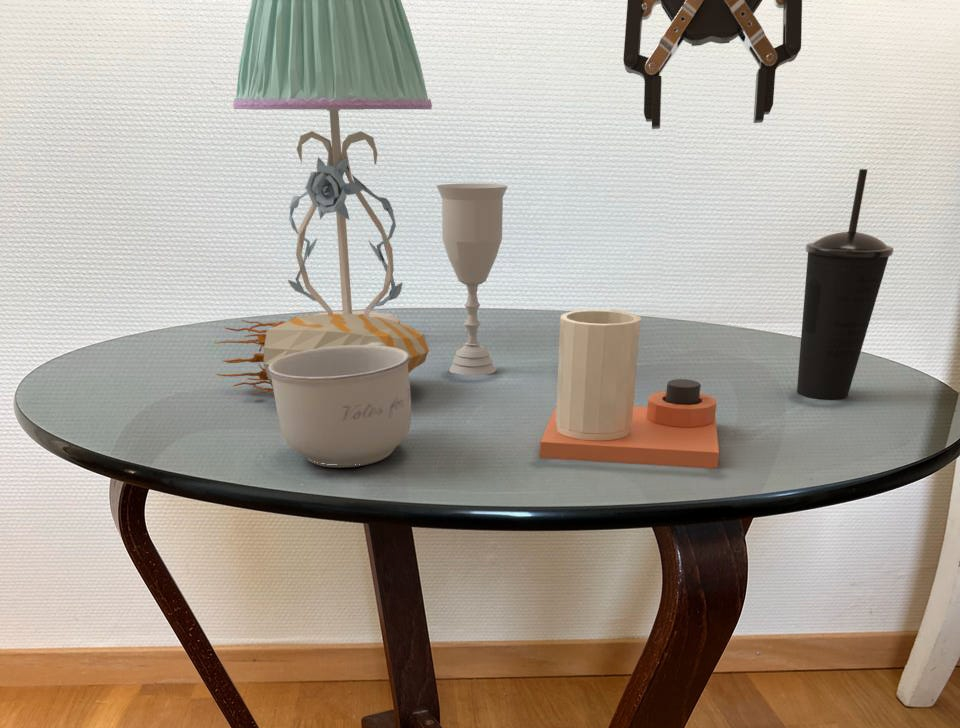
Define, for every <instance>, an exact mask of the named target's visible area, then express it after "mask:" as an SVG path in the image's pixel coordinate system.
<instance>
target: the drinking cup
mask: <svg viewBox="0 0 960 728" xmlns="http://www.w3.org/2000/svg"><path fill="white" fill-rule="evenodd" d="M867 174H868V169H866V168H860V169H859V170H858V175H857V181H856V187H855V191H854V196H853V197H854V198H853V203H852V209H851V214H850V220H849V225H848V230H847V231H842V232H841V231H840V232H835V233H830V234H828V235H825V236H823V237H821V238H819V239H816V240H815V241H814V242H809V243H807V244H806V245H805V252H806V253H807V261H806V274H805V284H804V285H805V286H804V297H803V298H804V299H803V309H802V321H801V334H800V335H801V336H800V346H799V347H800V349H799V359H798V360H799V361H798V370H797V371H798V372H797V384H796V393H797V394H798V395H799V396H801V397H805V398H808V399H813V400H822V401H838V400H844V399H846V398H848V396H849V393H850V389H851V386H852V382H853V379H854V376H855V373H856V370H857V366H858V363H859V359H860V355H861V352H862V348H863V346H864V342H865V339H866V335H867V332H868V329H869V325H870V323H871V319H872V315H873V312H874V309H875V305H876V303H877V298H878V295H879V291H880V288H881V284H882V282H883V277H884V274H885V271H886V268H887V265H888V261H889V257H891V256H892V255H893V254H894V247H892V246H890V245H887V244H886V243H885V242H884V241H883V240H881V239H880V238H878V237H875V236H873V235H871V234H867V233H864V232H858V231H857V229H858V224H859V218H860V213H861V208H862V201H863V196H864V191H865V186H866V180H867Z"/></svg>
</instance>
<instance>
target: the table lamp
mask: <svg viewBox="0 0 960 728" xmlns="http://www.w3.org/2000/svg"><path fill="white" fill-rule="evenodd" d="M244 29H245V31H244V36H243V43H242V49H241V53H240V58H239V64H238V72H237V83H236V95H235V98H233V104H232V107H233V110H326V111H328V112H329V122H330V124H329V125H330V139H328V138H326V137H325V136H323V135H320V134H319V133H317V132H315V131H313V130H311V131H309V132H306V133H304V134H301V135H300V136H299V140H298V144H297V147H296V152H297V154H298V158H299V160H300V163H301V164H302V163H303V145H304V144H305V143H307V142H308V141H309V140H310V139H311V138H312V139H314V140H316V141H318V142H321V143H322V144H323V146H324V148H325V150H326V152H327V162H326V164H325V162H324V161H323V160H322V158H320V157H319V156H318V157H317V159H316V167H315V168H316V171H310V174H309V176H308V179H307V181H306V185H305V186H304V189H305V190H306V191H305V192H304V193H302V194H301V195H294V196H292V197H291V201H290V204H289V216H288V217H289V219H288V220H289V222H290V225H291V228H292V229H293V231H294V232H295V233H296V234H297V238H296V240H297V241H296V249H295V256H296V259H297V263H298V266H299V270H298V272H297V275H296V277H295V281H293V280H290V279H287V281H288V283H289V285H290V287H291V288H292V289H293V290H294V291H295V292H297V293H300V294H301V295H304V296H306V297H307V298H309V299H310V300H311V301H314V302H317V303H318V304H319V305H320V307H322V308H323V310H325V312H319V313H313V314H311V315H318V314H357V315H359V314H363V315H365V316H368V317H381V318H384V319H388V320H391V321H394V322H398V323H401V321H400V319H399V318H398V317H397V316H396V315H394V314H393V313H385V312H378V311H377V312H376V311H373V310H374V309H375V308H376V307H381V306H384V305H385V304H386V303H387V302H389V301H392V300H395V299H397V298H398V297H399V296H400V294H401V292H402V289H403V288H402V287H403V282H399V283H398V284H397V285H396V283H395V278H394V275H393V274H394V256H393V255H394V253H393V246H392V245H391V242H390V240H391V239H392V238H393V234H394V232H395V230H396V226H397V223H396V219H395V215H394V209H393V207H392V204H391V202H390V200H389V199H388V198H387V197H382V196H378V195H376V194H375V193H374V192H373V191H372V190H370V189H369V188H368V187H367V186H366V185H365V184H364V183H362V182H361V181H360V180H359V179H358V178H356V177H355V176H354V174H352V171H351V166H350V160H349V156H348V149H349V147H350V146H351V144H354V143H358V142H361V141H366V143H367V144H368V145H369V147H370V148H371V150H372V152H373V164H374V165H377V161H378V155H379V154H378V150H377V147H376V142H375V139H374V137H373V136H371V135H369V134H367V133H365V132H364V131H357V132H354V133H350V134H348V135H347V136H346V138H345V139H344V140H343V141H341V129H340V128H341V127H340V112H339V111H341V110H344V111H345V110H347V111H348V110H352V111H353V110H355V111H356V110H432V107H433V103H432V100H431V98H429V96H428V92H427V89H426V88H427V87H426V83H425V78H424V74H423V70H422V64H421V61H420V57H419V54H418V50H417V46H416V43H415V40H414V36H413V33H412V30H411V25H410V23H409V20H408V17H407V13H406V10H405V8H404V5H403V2H402V0H251V3H250V8H249V12H248V15H247V20H246V23H245V28H244ZM341 142H342V143H341ZM344 175H345V176H346V179H347V180H348V182H347V183H346V180H344ZM362 191H364V192H365V193H366V194H368V195H369V196H371V197H372V198H374V199H375V200H377V202H380V203H381V205H382V208H383V210H384V211H386V212H387V214H388V216H389V218H390V219H391V221H392V222H391V226H390V230H389V233H388V235H387V233H386V230H385V228H384V226H383V224H382V222H381V220H380V219H379V218H378V216H377V214H376V213H375V211H374V210H373V208H372V206H371V205H370V204H369V202H368V200H367V199H366V198H365V196H364V194H363V193H362ZM307 195H308V196H309V199H310V200H311V205H310V206H309V209H308V210H307V212H306V214H305V216H304V218H303V220H302V221H301V223H300V226H299V227H297V225H296V223H295V221H294V217H293V214H294V211H295V209H296V208H298V207H299V204H300V200H301V199H302V198H303V197H305V196H307ZM351 195H355V196H356V197H357V199H358V200H359V202H360V204H361V205H362V206H363V207H362V208H364V210H365V211H366V213H367V215H368V216H369V217H370V219H371V221H372V222H373V224H374V225H375V227H376V229H377V230H378V232H379V234H380V235H381V239H382V241H380V242H379V243H378V244H377V245H376V246H375V245H373V243H372V242H371V241H370V240H367V242H368V243H369V245H370V248H371V249H372V251H373V252H374V254H375V256H376V257H377V259H378V261H379V262H380V263H381V264H382V266H383V269H384V271H385V277H384V282H383V283H384V284H383V287H382V290H381V291H380V292H379V293H378V294H377V296H376V297H374V298H373V300H372V301H371V302H370V303H369V304H368V305H367V306H366V307H365V309H364V310H353V306H352V305H353V304H352V291H351V289H352V288H351V276H350V275H351V274H350V259H349V246H348V231H347V220H350V216H349V210H348V208H347V205H346V202H345V201H346V199H347V196H351ZM317 210H318V215H319V219H320V220H322V218H323V217H324V216H325V215H326V214H332V213H333V214H334V213H335V214H336V215H335V216H336V230H337V246H338V248H337V249H338V261H339V276H340V277H339V278H340V291H341V306H342V307H341V308H342V311H341V310H339V311H333V310H332V308H331V307H330V306H329V304H327V302H326V301H325V300H324V299H323V297H322V296H321V295H320V294H319V293H318V292H317V290H316V289H315V287H313V286H312V284H311V283H310V279H309V276H308V272H307V268H306V265H305V264H306V262H307V259H309V258H310V255H311V254H312V252H313V250H314V248H315V246H316V243H317V240H318V238H315V239H314V241H312V243H311V241H310V240H309V239H307V238H306V232H307V227H308V225H309V224H310V222H311V220H312V218H313V216H314V214H315V212H316V211H317ZM297 228H298V229H297ZM304 243H306V247H305V252H304V257H303V248H304V245H305V244H304ZM382 246H383V247H384V251H385V255H386V259H387V262H386V261H385V257H384V255H383V252H382V249H381V248H382ZM300 277H301V278H302V282H303V283H304V287H305V289H304V287H303V286H302V284H301V281H300V280H299V279H300ZM390 287H391V288H390ZM305 290H307V291H305ZM387 294H388V295H387ZM386 295H387V296H386ZM385 296H386V297H385ZM384 297H385V298H384ZM383 298H384V299H383Z"/></svg>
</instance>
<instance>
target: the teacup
mask: <svg viewBox="0 0 960 728" xmlns="http://www.w3.org/2000/svg"><path fill="white" fill-rule="evenodd" d="M408 362H409V355H408V353H407V352H405V351H404V350H401V349H398V348H394V347H388V346H387V345H385V344H384V343H380V342H374V343H369V344H368V345H347V346H343V345H341V346H332V347H324V348H318V349H311V350H305V351H301V352H297V353H293V354H289V355H286V356H283V357H280V358H278V359H276V360H275V361H273V362H272V363H270V365H269V367H268V371H269V373H270V375H271V378H272V384H273V390H274V391H273V395H274V401H275V407H276V412H277V417H278V422H279V425H280V429H281V432H282V435H283V438H284V440H285V441H286V443H287V445H288V446H289V447H290V448H291V449H292V450H293V451H294V452H296V453H297V454H299V455H301V456H302V457H305V458H306V459H307V461H309V462H310V463H312V464H314V465H317V466H320V467H325V468H340V469H341V468H355V467H361V466H367V465H371V464H374V463H377V462H380V461H382V460H384V459H386V458H388V457H389V456H391V454H392V453H393V452H394V450H395V449H396V448H397V447H398V446H399V445H400V444H401V443H402V442H403V441H404V440H405V438H406V437H407V435H408V434H409V432H410V427H411V422H412V397H411V396H412V395H411V383H410V382H411V381H410V373H409V372H408ZM309 459H310V460H309ZM311 460H312V461H311ZM314 461H315V462H314ZM317 462H318V463H317ZM321 463H325V464H321ZM327 464H337V465H327ZM355 464H356V465H355ZM359 464H360V465H359Z"/></svg>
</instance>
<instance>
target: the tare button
mask: <svg viewBox="0 0 960 728" xmlns="http://www.w3.org/2000/svg"><path fill="white" fill-rule="evenodd" d="M701 386H702V385H701V382H700V381H696V380H693V379H687V378H685V379H684V378H679V379H678V378H675V379H671V380H668V381H667V383H666V389H665V390H666V400H665V402H667V403H672V404H678V405H694V404H699V396H700V393H701Z"/></svg>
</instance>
